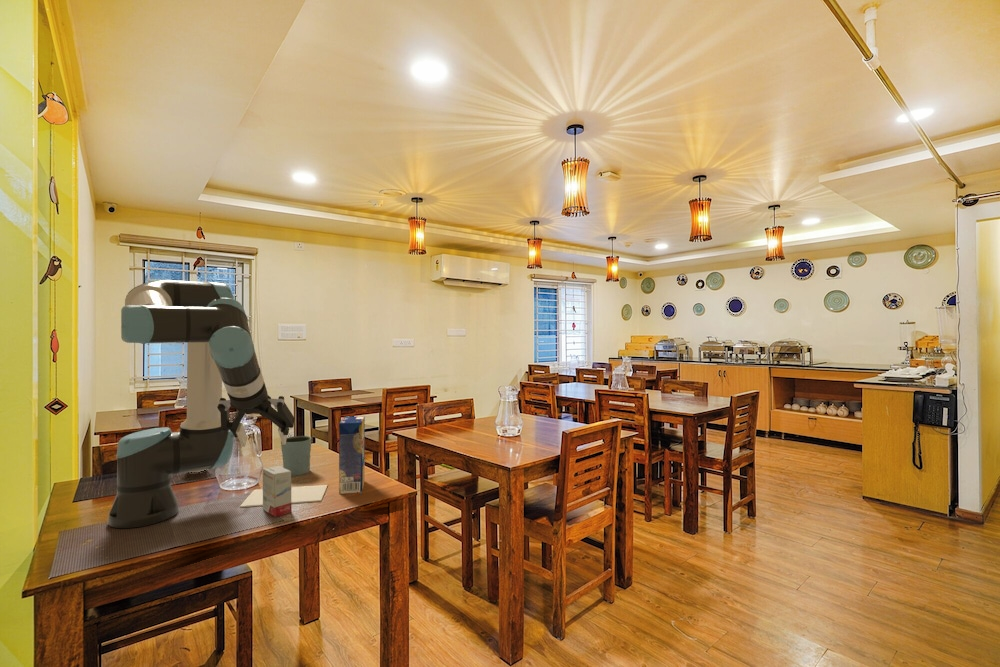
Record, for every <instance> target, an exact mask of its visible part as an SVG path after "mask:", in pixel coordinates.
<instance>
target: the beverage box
mask: <svg viewBox="0 0 1000 667" xmlns="http://www.w3.org/2000/svg"><path fill="white" fill-rule="evenodd" d="M365 418H366V416H365V415H363V416H343V417H342V418H341V420H340V421H339V424H338V429H339V430H338V441H339V442H338V446H339V447H338V448H339V449H338V452H339V453H338V455H339V456H338V469H339V470H338V472H339V473H338V478H339V479H338V487H339V488H338V494H339V495H340V494H341V495H342V494H343V495H344V494H354V493H357V492H358V493H362V492H363V489H364V485H365V480H366V479H365V474H366V473H365V470H366V469H365V464H366V462H365V461H366V460H365V458H366V457H365V455H366V454H365V449H366V448H365V443H366V442H365V438H366V436H365V431H366V429H365V427H366V426H365V421H366V420H365Z"/></svg>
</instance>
